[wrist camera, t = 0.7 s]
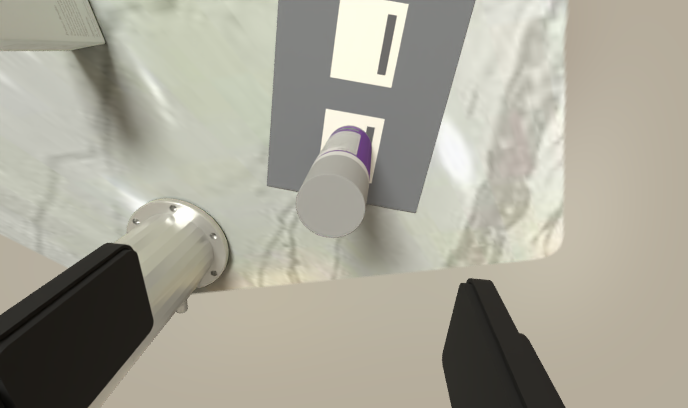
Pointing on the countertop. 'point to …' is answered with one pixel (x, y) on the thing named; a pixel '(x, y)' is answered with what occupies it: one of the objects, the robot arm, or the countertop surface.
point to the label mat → (364, 86)
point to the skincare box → (47, 25)
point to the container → (337, 184)
